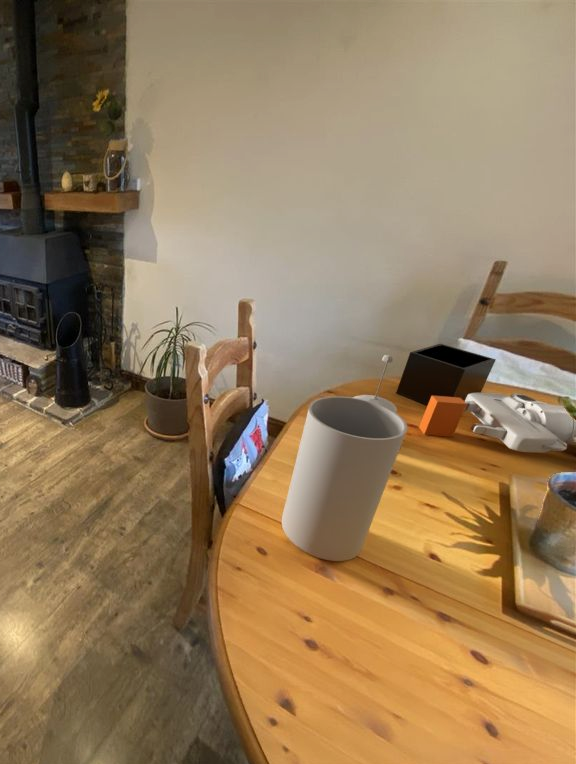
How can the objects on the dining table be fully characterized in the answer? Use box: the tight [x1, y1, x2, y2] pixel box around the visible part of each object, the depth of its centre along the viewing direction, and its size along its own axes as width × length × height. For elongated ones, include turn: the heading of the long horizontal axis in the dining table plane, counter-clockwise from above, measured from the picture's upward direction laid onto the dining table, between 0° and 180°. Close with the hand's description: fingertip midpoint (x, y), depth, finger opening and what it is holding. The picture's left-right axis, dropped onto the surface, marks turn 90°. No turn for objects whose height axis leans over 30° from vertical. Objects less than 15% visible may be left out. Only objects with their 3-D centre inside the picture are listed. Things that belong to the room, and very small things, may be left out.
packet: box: [418, 396, 467, 438], centre depth 97 cm, size 6×3×9 cm, turn 73°
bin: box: [395, 343, 497, 407], centre depth 110 cm, size 12×12×13 cm
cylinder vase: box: [281, 395, 408, 562], centre depth 69 cm, size 12×12×25 cm
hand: (462, 417), depth 96 cm, fingers open, 8 cm apart
